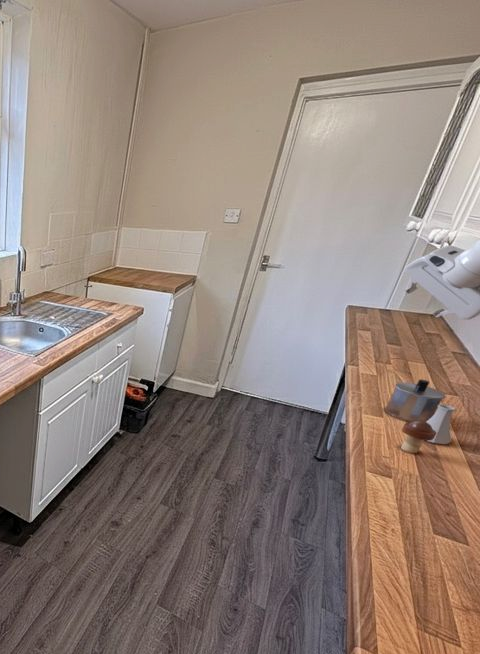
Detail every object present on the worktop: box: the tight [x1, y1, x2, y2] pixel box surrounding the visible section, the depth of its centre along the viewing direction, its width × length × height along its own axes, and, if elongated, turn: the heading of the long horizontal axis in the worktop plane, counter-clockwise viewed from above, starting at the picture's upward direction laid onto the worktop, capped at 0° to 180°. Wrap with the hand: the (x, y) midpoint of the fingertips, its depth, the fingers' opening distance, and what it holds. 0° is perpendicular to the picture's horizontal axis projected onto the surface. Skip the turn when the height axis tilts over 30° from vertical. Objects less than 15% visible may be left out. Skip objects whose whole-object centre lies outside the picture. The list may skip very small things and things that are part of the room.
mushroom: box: [400, 421, 436, 454], centre depth 109 cm, size 6×6×9 cm
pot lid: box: [394, 379, 446, 400], centre depth 125 cm, size 11×11×4 cm
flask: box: [426, 403, 457, 445], centre depth 115 cm, size 7×7×10 cm
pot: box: [384, 386, 443, 423], centre depth 127 cm, size 10×10×8 cm
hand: (421, 303), depth 119 cm, fingers open, 8 cm apart
